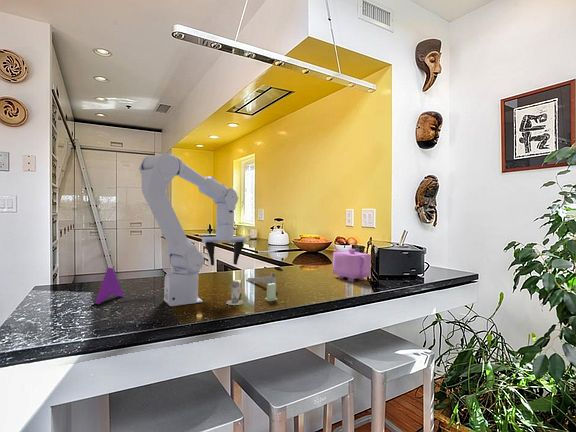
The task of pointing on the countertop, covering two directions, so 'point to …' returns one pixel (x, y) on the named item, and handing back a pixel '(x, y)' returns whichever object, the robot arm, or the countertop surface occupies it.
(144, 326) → the countertop surface
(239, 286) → the gate
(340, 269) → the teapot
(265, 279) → the caliper
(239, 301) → the hinge post
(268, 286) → the latch post
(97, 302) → the arrowhead
